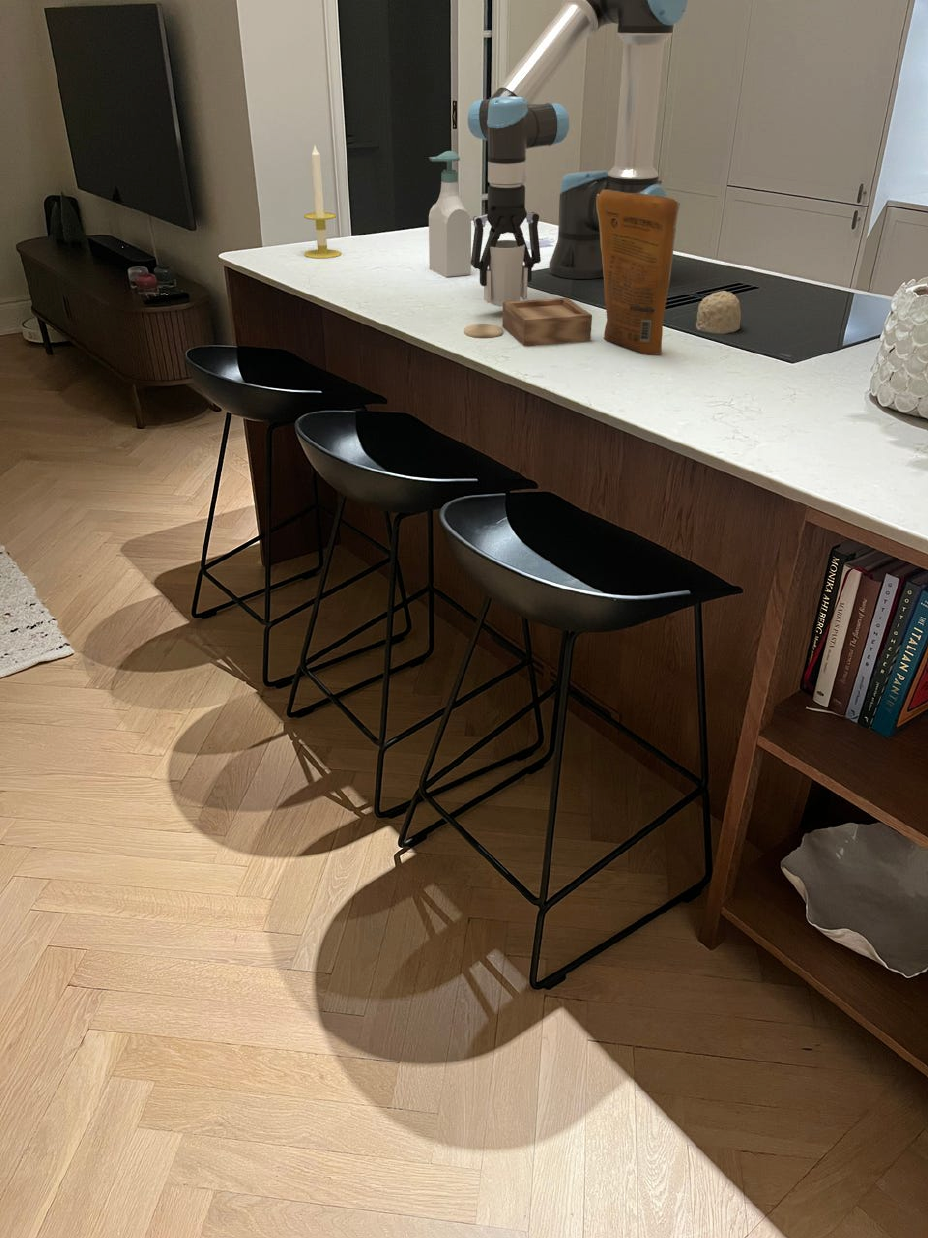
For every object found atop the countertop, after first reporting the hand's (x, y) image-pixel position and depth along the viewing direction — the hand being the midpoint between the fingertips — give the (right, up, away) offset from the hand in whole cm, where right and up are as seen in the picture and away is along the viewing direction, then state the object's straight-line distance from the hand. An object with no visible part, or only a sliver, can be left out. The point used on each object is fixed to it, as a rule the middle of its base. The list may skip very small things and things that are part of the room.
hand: (505, 299), depth 207 cm
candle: (-47, +29, +51) cm, 75 cm away
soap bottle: (-13, +18, +34) cm, 41 cm away
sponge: (+44, -8, -7) cm, 45 cm away
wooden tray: (+8, -11, -11) cm, 17 cm away
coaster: (-5, -10, -10) cm, 15 cm away
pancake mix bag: (+23, -15, -17) cm, 33 cm away
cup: (0, -1, +1) cm, 1 cm away
